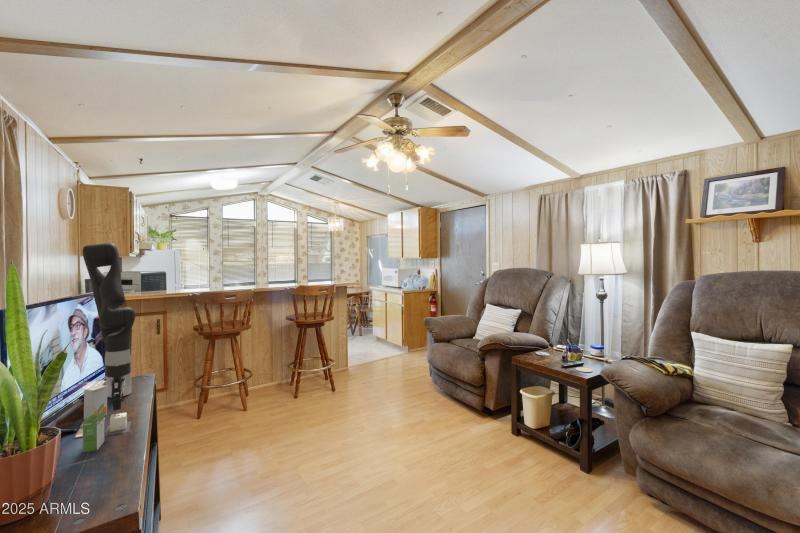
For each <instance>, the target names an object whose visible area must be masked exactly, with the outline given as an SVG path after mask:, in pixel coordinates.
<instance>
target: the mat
mask: <svg viewBox="0 0 800 533" xmlns="http://www.w3.org/2000/svg"><path fill="white" fill-rule="evenodd" d="M131 424H132V421H131V420H130V421H127V425H126V429H122V430H116V431H111V432H110V424H108V425H107V428H106V431H105V432H104V437H107V436H113V435H119V434H123V433H125V434H126V433H129V432H130V429H131Z"/></svg>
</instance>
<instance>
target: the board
mask: <svg viewBox="0 0 800 533" xmlns="http://www.w3.org/2000/svg"><path fill="white" fill-rule="evenodd" d="M106 420H107V418H106V417H104V424H105V423H106ZM83 422H84V421H82V422H81V424H80V425H79V428H78V429H77V432H76V434H75V435H74V437H73V439H74V440H77V439H83Z"/></svg>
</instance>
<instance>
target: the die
mask: <svg viewBox="0 0 800 533" xmlns="http://www.w3.org/2000/svg"><path fill="white" fill-rule="evenodd" d="M127 422H128V413H127V412H120V413H114V414H111V416H110V419H109V425H110V432H111V431H116V430H122V429H126V425H127Z"/></svg>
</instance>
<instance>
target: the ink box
mask: <svg viewBox="0 0 800 533" xmlns="http://www.w3.org/2000/svg"><path fill="white" fill-rule="evenodd" d="M101 408H102V411H101V412H100V413H99V411H100V409H101ZM104 418H105V416H104V403H103V404H102V405H101V406H100V407H99V408H98V409H97V414H93V415H90V416H89V417H88V418H87V419H86V420H83V421H82V422H83V438H82V453H89V452H95V451H98V450H99V449H100V448H101V447H102V445H103V443H104V442H105V423H104Z"/></svg>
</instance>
